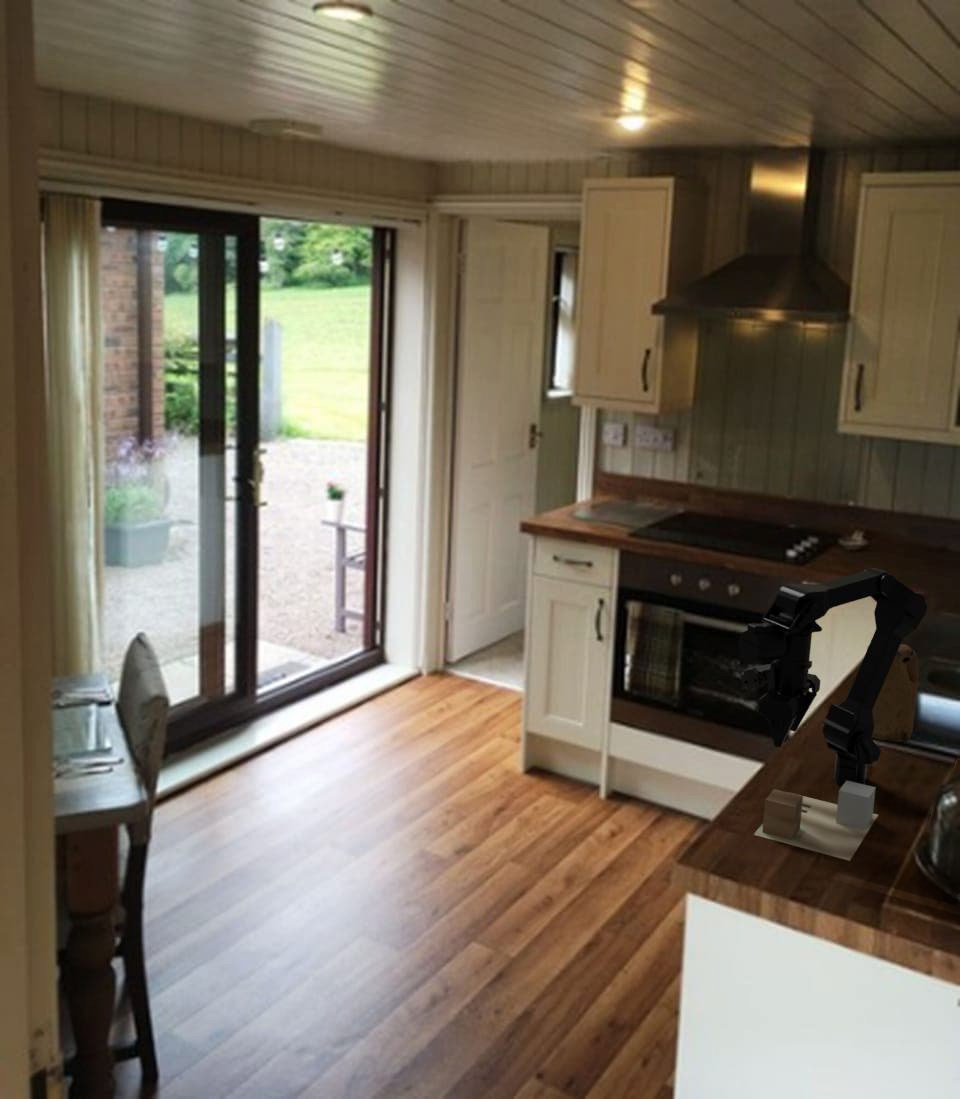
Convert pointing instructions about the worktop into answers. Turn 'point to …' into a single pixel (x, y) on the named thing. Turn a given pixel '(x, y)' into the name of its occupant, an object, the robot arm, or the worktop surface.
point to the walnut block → (782, 814)
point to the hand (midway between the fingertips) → (785, 738)
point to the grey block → (855, 805)
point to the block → (897, 698)
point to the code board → (823, 831)
